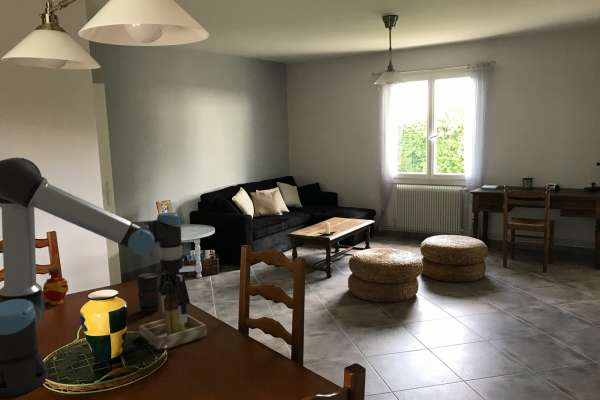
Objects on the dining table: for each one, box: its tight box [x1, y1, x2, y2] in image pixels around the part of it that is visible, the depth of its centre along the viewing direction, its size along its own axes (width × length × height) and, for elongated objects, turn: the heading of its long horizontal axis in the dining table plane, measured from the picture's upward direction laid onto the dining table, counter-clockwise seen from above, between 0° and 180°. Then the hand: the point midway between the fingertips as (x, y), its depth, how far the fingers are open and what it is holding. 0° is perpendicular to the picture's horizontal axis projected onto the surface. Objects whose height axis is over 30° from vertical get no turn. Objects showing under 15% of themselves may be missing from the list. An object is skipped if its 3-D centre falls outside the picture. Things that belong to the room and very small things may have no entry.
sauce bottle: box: [164, 281, 185, 336], centre depth 163 cm, size 6×6×20 cm
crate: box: [138, 313, 208, 349], centre depth 165 cm, size 18×16×4 cm
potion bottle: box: [42, 267, 69, 306], centre depth 202 cm, size 10×10×15 cm
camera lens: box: [137, 272, 160, 315], centre depth 190 cm, size 8×8×15 cm
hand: (174, 317), depth 163 cm, fingers open, 12 cm apart
